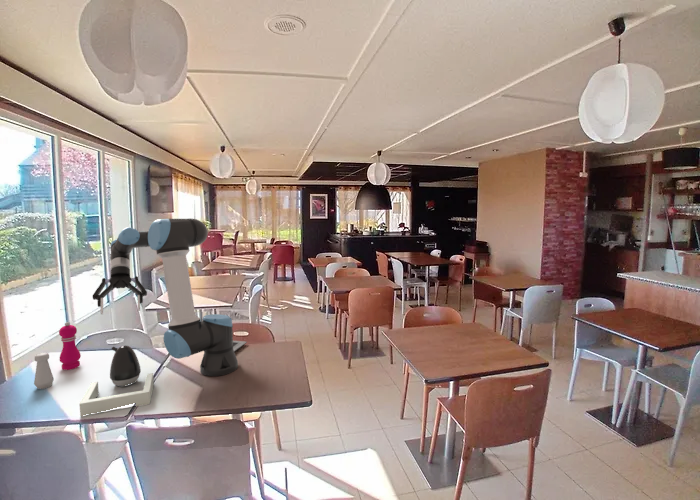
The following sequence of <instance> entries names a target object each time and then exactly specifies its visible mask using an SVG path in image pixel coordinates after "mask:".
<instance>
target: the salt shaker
mask: <svg viewBox="0 0 700 500" xmlns="http://www.w3.org/2000/svg"><path fill="white" fill-rule="evenodd" d="M49 359H50V354H49V352H41V353H37V354H36V355H34V361H35V362H36V368H35V374H34V380H33V381H34V383H33V384H34V386H35V388H37V390H44V389H47V388H50V387H51V386H53V383H54V375H53V373H52V369H51V365H50V363H49Z"/></svg>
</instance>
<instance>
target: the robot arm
mask: <svg viewBox="0 0 700 500" xmlns="http://www.w3.org/2000/svg"><path fill="white" fill-rule="evenodd" d="M208 234H209V230H208V228H207V225H206V224H205V223H204V222H203V221H201V220H199V219H197V218H162V219H156V220H153V221H152V223H151V224H150V226H149V228H148V230H145V231H139V230H138V229H136V228H133V227H131V226H130V227H125V228H123V229H122V230H121V231H120V232H119V234H118V237H117V238H116V239H114V240H112V241H111V242H110V248H109V249H110V278H109V279H106V278H105V277H102V279H101V282H100V284H99V285H98V287H97V288H96V290H95V291H94V293H93V294H92V300H96V301H97V304H96V305H97V307H98V308H100V315H104V298H105V297H106V296H107V295H108V294H110V293H111V291H113V290H115V289H125V288H127V289H129V291H131V292H132V293H134V294H135V295H136V296H137V310H138V312H140V311H141V304H143V302H144V299H143V298H144V297H146V296H148V292H147V289H146V288H145V287H144V285H142V283H141V282H140V280H139V276H134V277H131V261H130V260H131V258H130V257H131V256H130V254H131V253H132V251H133V249H134V248H135V249H137V248H139V249H140V248H150V249H151V250H153V251H156V256H157V257H159V258H160V259H161V261H162V266H163V273H164V280H165V285H166V290H167V291H166V292H167V298H168V305H169V312H170V319H171V320H170V322H169V323H168V324H167V327H168V329H167V330H166V331H165V332H164V333H163V337H162V338H163V344H164V347H165V349H166V351H167V353H169V355H170V356H171V357H172V358H173V359H177V360H178V359H183V358H184V359H185V358H188V357H189V358H190V356H193V355H196V354H198V353H202V352H203V356H202V359H201V362H200V366H199V367H200V368H199V371H200V373H201V375H203V376H207V377H219V376H224V375H229V374H231V373H233V372H235V371H236V370H237V369H238V368H239V361H238V358H237V355H236V353H235V352H234V350H233V341H234V336H233V335H234V333H233V331H234V330H233V328H234V327H233V326H234V325H233V319H232V317H231V316H230V315H228V314H227V315H226V314H217V313H215V314H205V315H204V316H202V318H201V317H199V316H197V315H196V310H195V304H194V297H193V293H192V292H193V291H192V284H191V278H190V272H189V267H188V260H187V255H188V254H189V252H190V247H191V248H192V247H196V246H200V245H202V244H203V243H204V242H206V241H207V238H208ZM131 282H133V284H134V283H135V286H137V288H136V287H135V286H134V285H133V284H132V283H131ZM108 283H109V286H107V287H106V285H108ZM105 287H106V288H105ZM104 288H105V289H104ZM103 289H104V290H103ZM201 319H202V321H201Z"/></svg>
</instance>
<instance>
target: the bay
mask: <svg viewBox="0 0 700 500" xmlns="http://www.w3.org/2000/svg"><path fill="white" fill-rule="evenodd" d="M154 379H155V378H154V373H153V372H152V373H147V374H146V378H145V381H144V386H143V389H142V390H137V391H132V392H131V391H130V392H125V393H119V394H115V395H108V396H103V397H98V396H97V395H99V394H100V392H99V382H98V381H93V382H90V383H89V386H88V388H87V390H86V392H85V393H84V395H83V397H82V398H81V399H80V401H79V415H80V416H83V415H86V414H91V413H97V412H101V411H106V410H110V409H113V408H117V407H121V406H125V405H129V404H133V403H136V407H141V406H146V405H150V404H151V400H152V395H153V389H154V385H155V383H154ZM98 393H99V394H98ZM96 397H97V398H96ZM83 417H84V416H83Z"/></svg>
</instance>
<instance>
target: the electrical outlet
mask: <svg viewBox="0 0 700 500" xmlns="http://www.w3.org/2000/svg"><path fill="white" fill-rule="evenodd" d="M247 342H248V341H244V340H243V341H242V340H241V341H240V340H233V350H234V353H235V352H236V351H238V350H239V349H240V348H242V347H243V346H245V345H246V344H247Z"/></svg>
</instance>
